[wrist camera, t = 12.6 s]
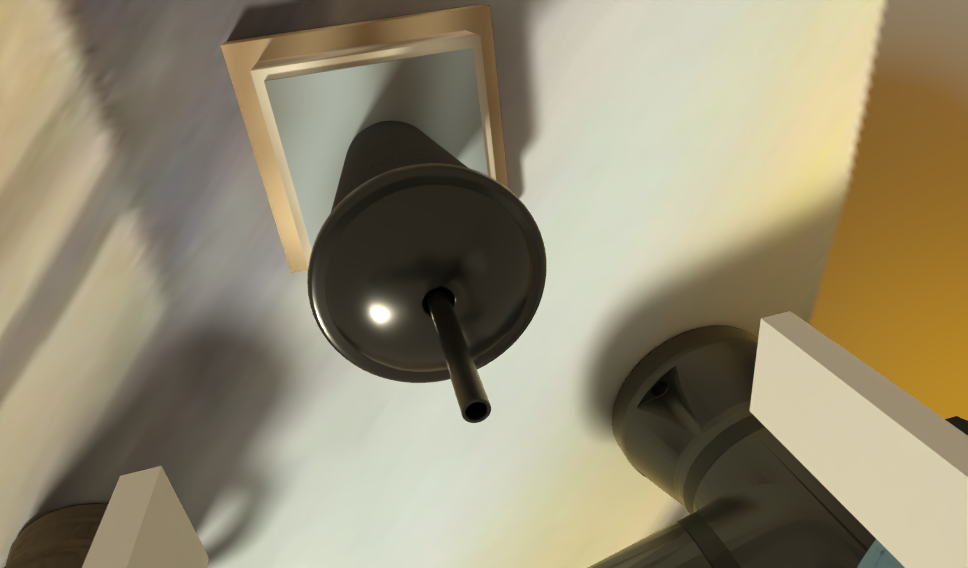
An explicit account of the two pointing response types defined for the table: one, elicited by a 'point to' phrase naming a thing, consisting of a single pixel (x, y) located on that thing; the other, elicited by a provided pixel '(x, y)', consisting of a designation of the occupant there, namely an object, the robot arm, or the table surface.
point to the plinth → (362, 103)
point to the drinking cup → (424, 265)
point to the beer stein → (57, 538)
